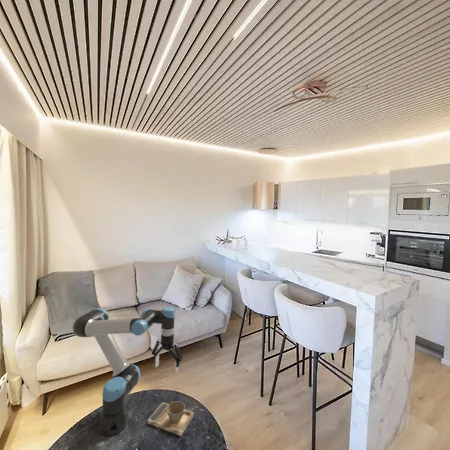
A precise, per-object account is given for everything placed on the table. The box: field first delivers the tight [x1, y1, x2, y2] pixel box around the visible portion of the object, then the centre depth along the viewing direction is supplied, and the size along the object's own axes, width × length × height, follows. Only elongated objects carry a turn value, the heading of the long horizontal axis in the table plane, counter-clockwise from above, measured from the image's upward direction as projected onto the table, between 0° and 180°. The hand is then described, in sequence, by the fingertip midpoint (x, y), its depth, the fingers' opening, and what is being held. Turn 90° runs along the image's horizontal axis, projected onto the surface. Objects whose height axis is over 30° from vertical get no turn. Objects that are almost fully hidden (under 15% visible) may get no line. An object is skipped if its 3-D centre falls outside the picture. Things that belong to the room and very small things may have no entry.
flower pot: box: [167, 400, 186, 423], centre depth 141 cm, size 10×10×7 cm
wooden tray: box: [147, 401, 194, 437], centre depth 142 cm, size 22×14×3 cm
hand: (166, 369), depth 146 cm, fingers open, 13 cm apart
